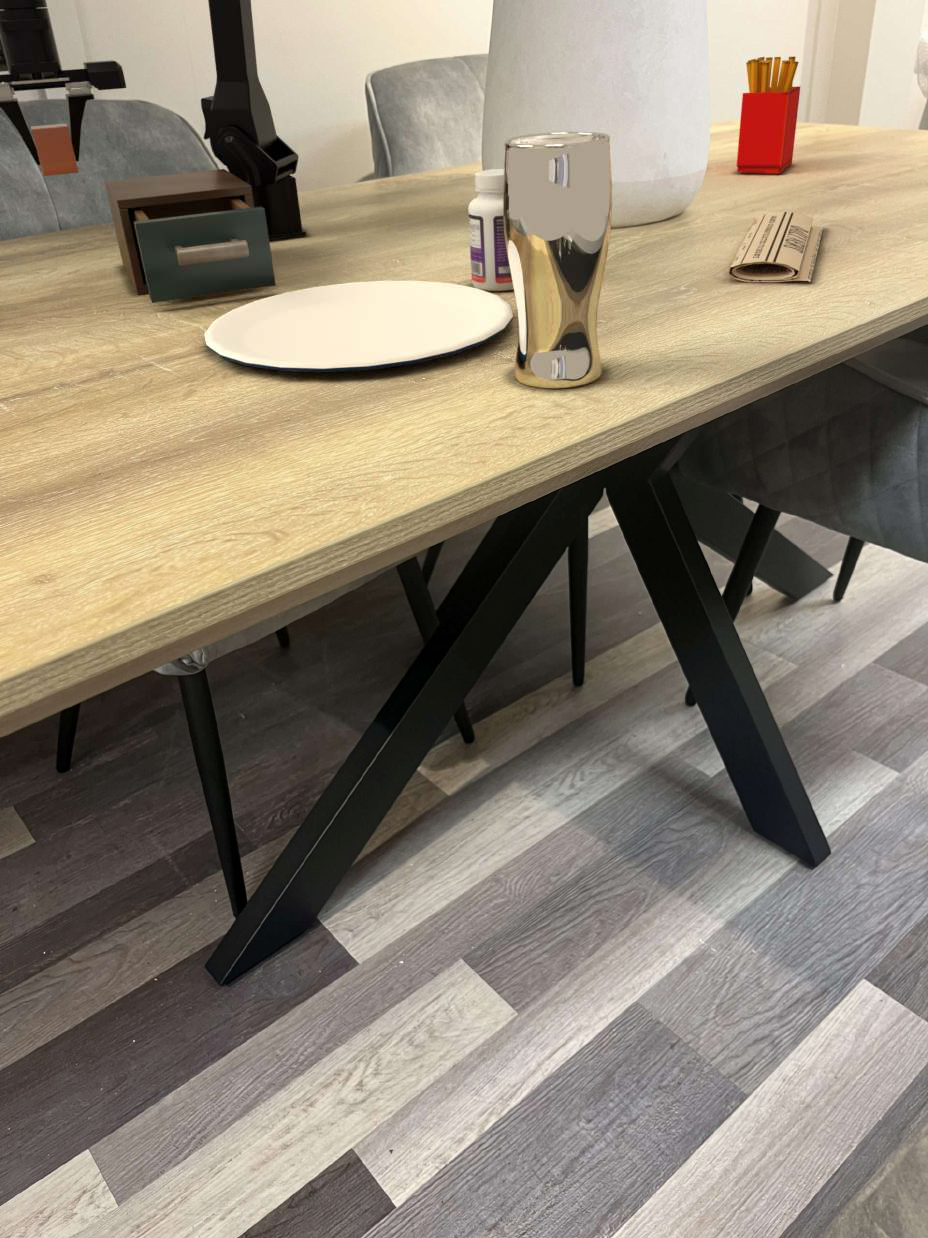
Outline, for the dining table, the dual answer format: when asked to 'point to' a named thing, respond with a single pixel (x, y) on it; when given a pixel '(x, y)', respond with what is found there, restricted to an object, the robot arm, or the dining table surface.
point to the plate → (358, 326)
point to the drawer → (202, 248)
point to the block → (54, 149)
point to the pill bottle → (489, 234)
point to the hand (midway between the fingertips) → (58, 162)
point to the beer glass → (557, 251)
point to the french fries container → (768, 117)
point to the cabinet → (164, 192)
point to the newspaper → (778, 249)
